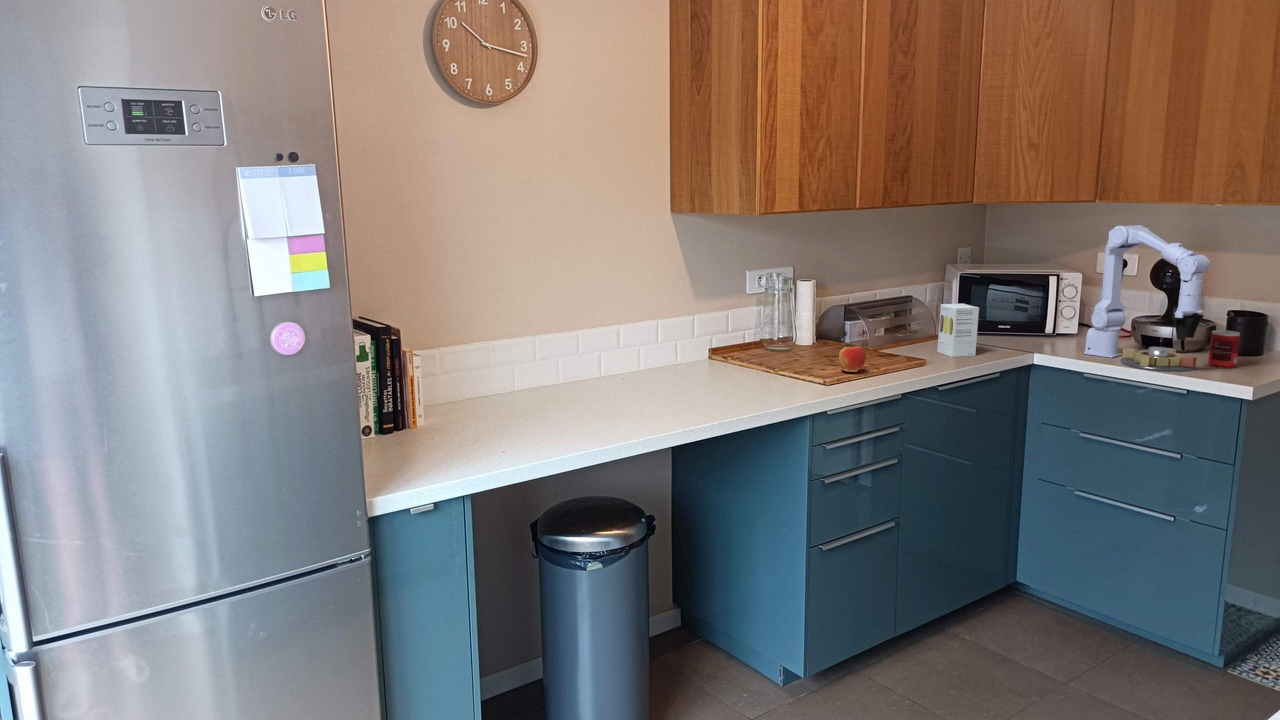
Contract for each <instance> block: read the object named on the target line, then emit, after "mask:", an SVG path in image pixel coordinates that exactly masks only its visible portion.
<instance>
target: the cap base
mask: <svg viewBox="0 0 1280 720" xmlns="http://www.w3.org/2000/svg"><path fill="white" fill-rule="evenodd" d="M1169 348H1170V347H1165V346H1164V347H1162V346H1149V347H1148V349H1147V350H1148V355H1151V356H1154V357H1169V355H1170V349H1169ZM1120 363H1121V364H1122V365H1124V366H1127V367H1131V368H1134V369H1140V370H1145V369H1146V370H1147V371H1153V370H1156V372H1167V371H1168V373H1169V372H1171V371H1172V372H1171V373H1173V371H1174V373H1175V371H1176V373H1178V372H1179V373H1180V372H1181V373H1182V372H1190V371H1191V370H1192V371H1195V368H1197V366H1196V365H1197V364H1196V365H1195V367H1186V366H1156V365H1152V366H1149V367H1146V366H1140V363H1138V362H1134V361H1133V360H1132V359H1131V358H1124V357H1121V359H1120Z"/></svg>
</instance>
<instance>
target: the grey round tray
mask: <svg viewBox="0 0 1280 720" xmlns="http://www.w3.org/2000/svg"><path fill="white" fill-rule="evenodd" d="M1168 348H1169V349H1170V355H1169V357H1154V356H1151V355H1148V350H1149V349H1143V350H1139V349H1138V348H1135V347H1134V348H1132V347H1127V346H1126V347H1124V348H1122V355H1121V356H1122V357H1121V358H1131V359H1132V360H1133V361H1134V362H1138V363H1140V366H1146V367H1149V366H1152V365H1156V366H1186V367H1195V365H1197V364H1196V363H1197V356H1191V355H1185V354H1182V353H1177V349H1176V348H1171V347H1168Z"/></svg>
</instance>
